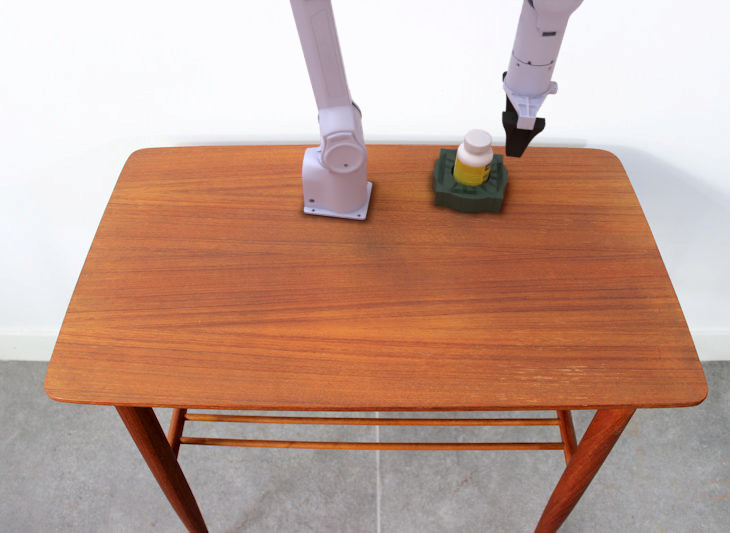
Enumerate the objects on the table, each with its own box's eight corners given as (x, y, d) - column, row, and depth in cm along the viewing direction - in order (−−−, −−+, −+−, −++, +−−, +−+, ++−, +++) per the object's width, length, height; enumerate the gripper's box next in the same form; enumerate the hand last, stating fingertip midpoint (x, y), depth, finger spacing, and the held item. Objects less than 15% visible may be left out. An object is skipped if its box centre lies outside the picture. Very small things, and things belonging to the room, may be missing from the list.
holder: (429, 208, 92) (431, 194, 90) (434, 158, 99) (436, 144, 97) (504, 216, 91) (507, 202, 89) (504, 166, 98) (507, 152, 96)
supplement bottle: (484, 200, 93) (495, 152, 86) (449, 195, 94) (457, 147, 86) (487, 176, 97) (498, 128, 89) (453, 172, 97) (461, 123, 90)
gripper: (570, 90, 71) (542, 175, 82) (563, 25, 80) (539, 109, 91) (510, 84, 72) (490, 169, 82) (510, 21, 81) (492, 105, 91)
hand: (513, 137), depth 87 cm, fingers open, 7 cm apart
